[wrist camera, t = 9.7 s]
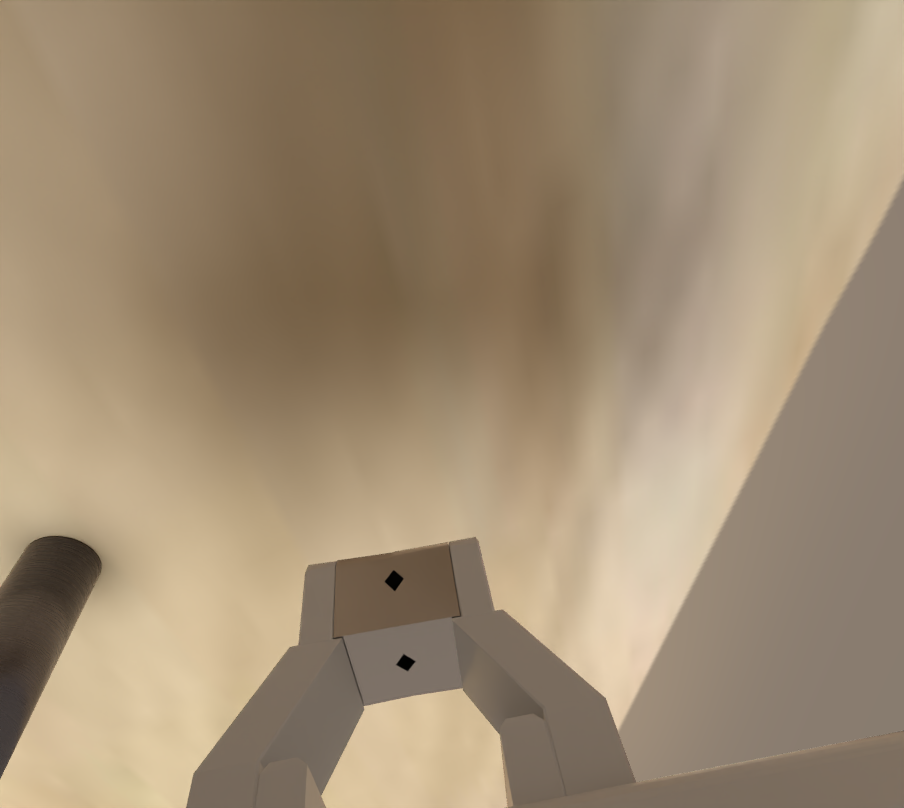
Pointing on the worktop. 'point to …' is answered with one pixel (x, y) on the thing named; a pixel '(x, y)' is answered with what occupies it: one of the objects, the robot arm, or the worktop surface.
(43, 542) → the post
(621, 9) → the worktop surface
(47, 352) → the worktop surface
